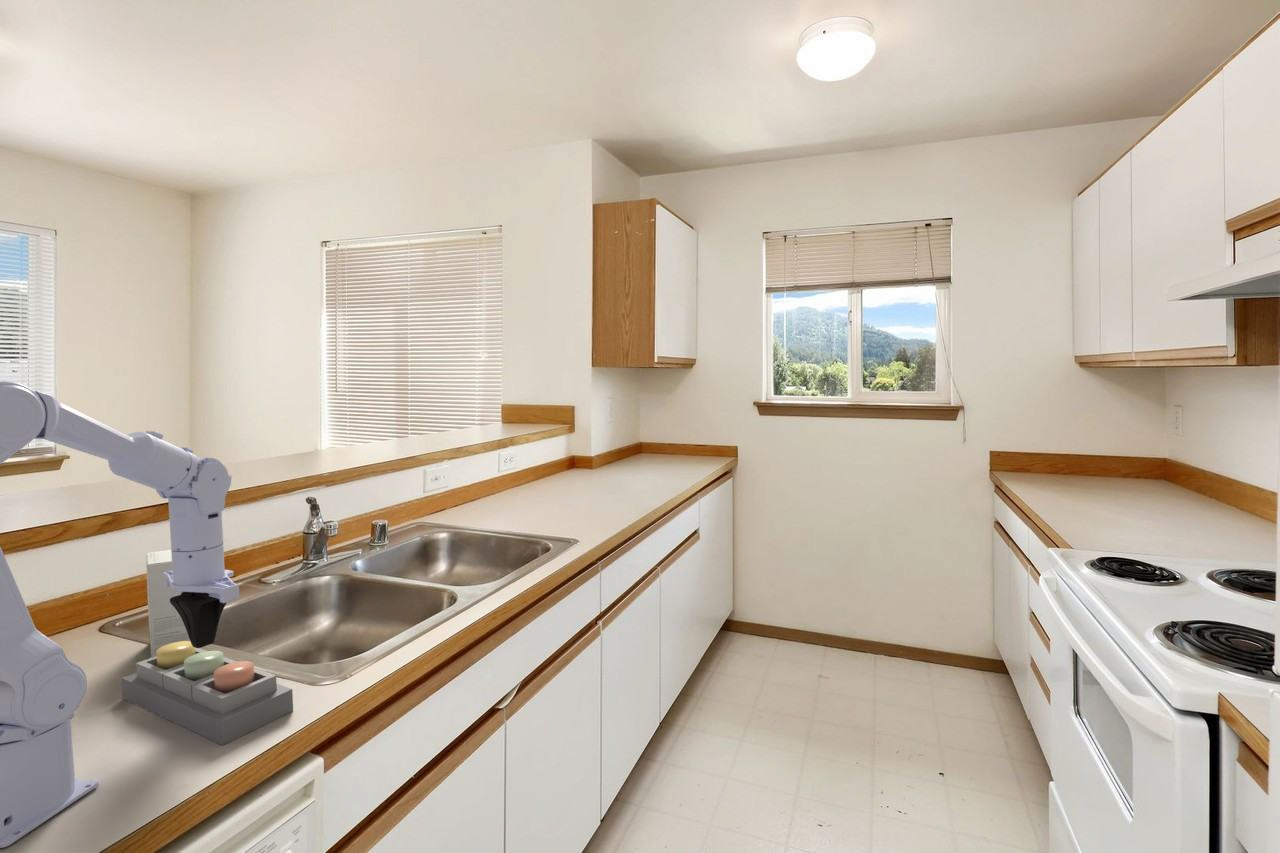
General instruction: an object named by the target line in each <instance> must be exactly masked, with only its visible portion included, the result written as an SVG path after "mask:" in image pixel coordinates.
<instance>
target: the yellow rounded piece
mask: <svg viewBox="0 0 1280 853" xmlns="http://www.w3.org/2000/svg"><path fill="white" fill-rule="evenodd" d="M195 654H196V651H195V647H193V646H192V644H191V641H181V642H175V643H171V644H168V645H165V646H162V647H161V648H159V649H158V650H157V651H156V655H157V667H159V668H173V667H175V666H178V665H181V664H184V661H185V659H187V658H188V657H190V656H192V655H195Z"/></svg>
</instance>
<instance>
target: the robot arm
mask: <svg viewBox="0 0 1280 853" xmlns="http://www.w3.org/2000/svg"><path fill="white" fill-rule="evenodd" d="M163 437H164V434H162V433H160V432H158V431H157V430H156V431H155V430H154V431H153V430H152V431H151V430H149V431H136V432H131V433H128V434H124V433H123V432H121V431H119V430H116V429H114V428H112V427H111V426H109V425H106V424H104V423H103V422H100V421H98V420H97V419H94V418H93V417H90V416H88V415H86V414H84V413H82V412H80V411H78V410H77V409H74V408H73V407H71V406H67V405H66V404H64V403H62V402H60V401H58V399H56V398H55V397H54V396H52V395H51V394H49V393H45V392H43V391H38V390H33V389H32V388H30V387H28V386H26V385H24V384H21V383H18V382H14V381H6V380H5V381H0V465H2V464H3V463H4V462H5V461H7V460H8V459H9V458H11V457H12V456H14V454H16V453H17V452H19V451H21V450H22V449H23V448H24V447H25V446H27V445H28V444H30V443H31V442H32V441H33V440H34V439H35V440H46V441H48V442H50V443H55V444H58V445H60V446H64V447H67V448H69V449H73V450H76V451H79V452H81V453H85V454H88V455H91V456H94V457H97V458H101V459H103V460H106V461H107V463H108V467H109V470H110V471H111V472H112V474H114V475H115V476H119V477H121V478H124V479H127V480H129V481H131V482H134V483H137V484H140V485H143V486H145V487H147V488H150V489H154V490H155V491H156V492H157V494H158V495H159V497H160V498H162V499H168V500H167V501H168V515H169V517H168V518H169V532H170V533H169V534H170V550H171V553H172V571H168V572H164V573H163V585H164V586H165V587H171V588H172V589H173V590H174V591H180V592H183V593H181V595H178V596H175V597H172V598H170V603H171V604H172V606H173V607H174V608H175V609H176V610H177V612H178V613H179V615H180V617H181V619H182V621H183V623H184V625H185V628H186V630H187V633H188V636H189V639H190V641H191V644H192V646H193V647H195V648H200V649H202V648H204V647H207V646H209V645H212V644H214V643H215V639H216V635H217V631H218V627H219V622H220V619H221V616H222V613H223V611H224V609H225V606H226V605H227V603H229V602H232V601H236V600H239V599H240V586H239V585H240V584H238V583H236V582H233V580H232V579H231V578H233V577H234V574H235V572H234V570H230V569H226V568H225V566H226V565H225V551H224V549H225V548H224V531H223V513H222V511H224V510H225V509H224V507H226V495H227V494H228V492H229V490H230V487H231V484H232V480H233V478H232V475H231V474H230V475H229V471H228V469H227V467H226V466H225V465H224V464H223V463H222V462H221V461H220V460H218V459H216V458H214V457H198V456H197V455H196V454H194V450H193V449H191V448H189V447H186V446H185V447H184V446H183V447H179V446H176V445H174V444H173V443H170V442H168V441H165V440H163ZM4 554H5V553H4V552H3V550H2V547H1V546H0V849H1V848H3V849H4V848H6V847H9V846H11V845H12V844H14V843H15V842H16V841H18V840H19V839H21V838H22V837H24V836H26V835H27V834H29V832H31V831H34V829H36V828H37V827H39V826H41V825H42V824H43V823H45V822H46V821H48V820H49V819H50V818H53V817H54V816H55V815H57V814H58V813H59V812H61V811H63V810H64V809H66V808H68V807H69V806H70V805H72V804H73V803H75V802H76V801H78V800H79V799H80V798H82V797H83V796H85V795H86V794H88V793H90V792H91V791H92V790H94V789H95V788H97V787H98V786H99V780H97V779H96V780H95V779H93V780H92V779H79V778H76V777H75V773H76V772H75V762H74V748H73V736H72V735H73V734H72V721H71V720H72V719H73V718H74V717H75V712H76V711H77V709H78V708H79V707H80V705H81V703H82V702H83V700H84V698H85V696H86V693H87V690H88V688H87V687H88V678H87V674H86V672H85V671H84V669H83V668H82V667H81V666H79V665H78V664H76V663H74V662H72V661H71V660H70V659H68V657H67V654H66V653H65V651H64V648H63V647H62V646H61V645H59V644H58V643H56V642H55V641H54V640H52V639H51V638H49V637H48V636H46V634H43V632H41V631H39V630H38V629H37V628H36V625H35V624H34V621H33V618H32V617H31V614H30V611H29V609H28V607H27V604H26V603H25V600H24V598H23V596H22V593H21V591H20V589H19V587H18V584H17V581H16V579H15V577H14V575H13V572H12V570H11V568H10V566H9V564H8V562H7V558H6V557H5V555H4Z"/></svg>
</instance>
